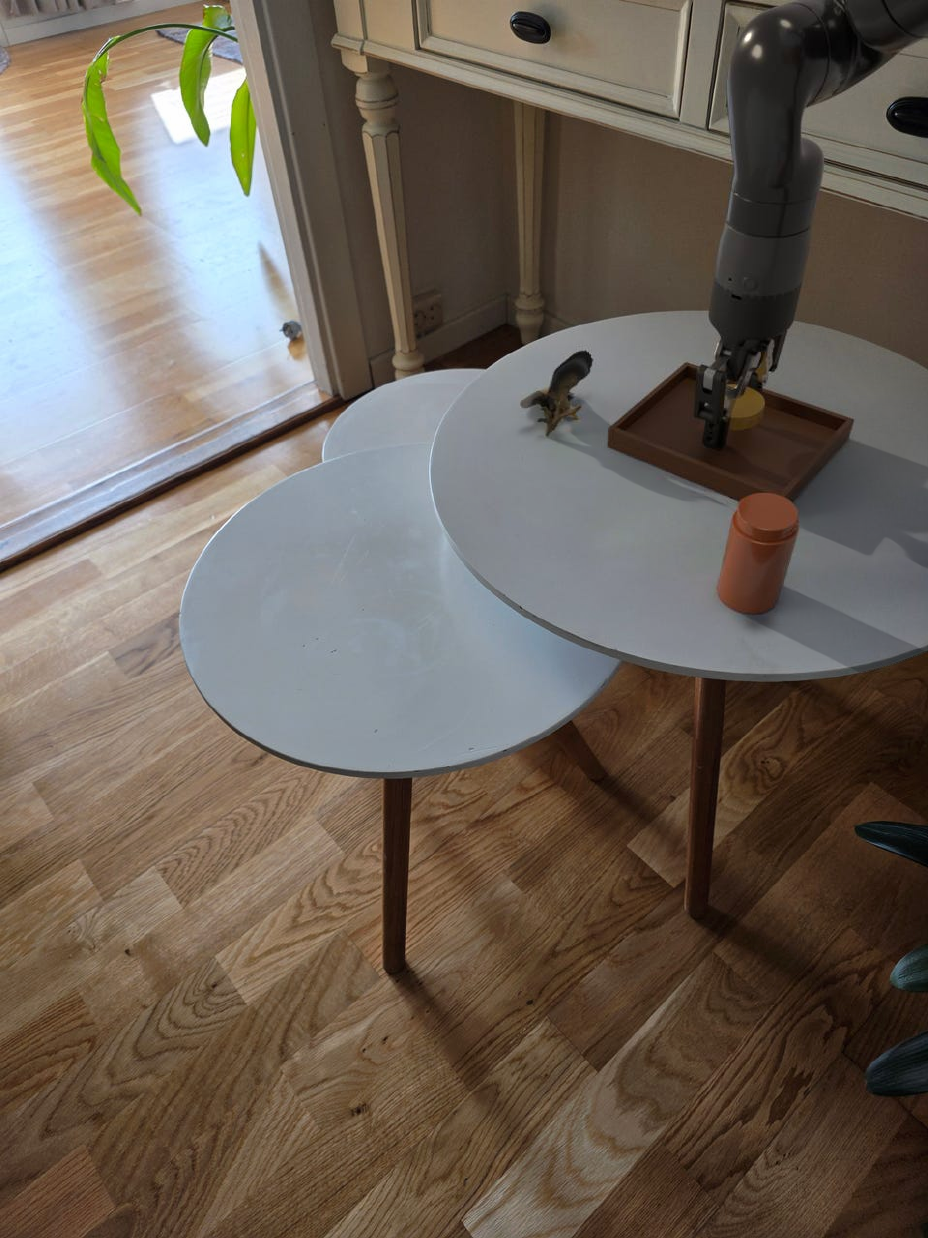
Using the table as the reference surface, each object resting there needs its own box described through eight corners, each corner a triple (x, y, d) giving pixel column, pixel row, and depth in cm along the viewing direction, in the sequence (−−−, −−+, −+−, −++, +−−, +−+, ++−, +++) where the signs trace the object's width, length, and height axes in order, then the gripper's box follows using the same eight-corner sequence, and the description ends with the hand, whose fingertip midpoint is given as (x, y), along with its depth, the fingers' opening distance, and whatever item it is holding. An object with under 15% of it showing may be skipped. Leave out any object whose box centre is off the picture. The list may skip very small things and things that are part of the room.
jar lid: (688, 411, 88) (690, 398, 87) (730, 389, 90) (733, 377, 89) (732, 438, 84) (735, 425, 83) (775, 415, 86) (778, 402, 85)
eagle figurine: (601, 431, 90) (608, 371, 95) (564, 386, 86) (573, 325, 90) (541, 455, 95) (551, 397, 99) (502, 414, 91) (514, 354, 95)
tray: (848, 437, 89) (854, 418, 87) (778, 517, 81) (783, 498, 80) (683, 379, 98) (685, 361, 96) (606, 446, 90) (608, 427, 89)
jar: (790, 588, 75) (814, 506, 68) (761, 623, 73) (783, 542, 66) (735, 563, 78) (753, 481, 71) (705, 596, 75) (721, 515, 68)
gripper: (759, 230, 82) (730, 386, 94) (678, 293, 75) (659, 453, 87) (836, 250, 78) (796, 409, 90) (758, 318, 71) (727, 480, 83)
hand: (729, 430), depth 89 cm, fingers closed on jar lid, 6 cm apart
